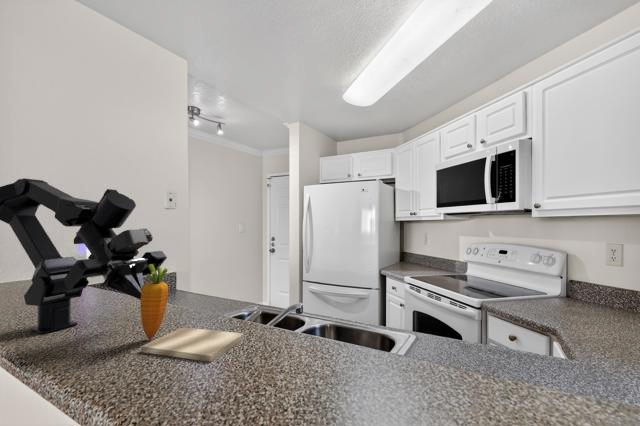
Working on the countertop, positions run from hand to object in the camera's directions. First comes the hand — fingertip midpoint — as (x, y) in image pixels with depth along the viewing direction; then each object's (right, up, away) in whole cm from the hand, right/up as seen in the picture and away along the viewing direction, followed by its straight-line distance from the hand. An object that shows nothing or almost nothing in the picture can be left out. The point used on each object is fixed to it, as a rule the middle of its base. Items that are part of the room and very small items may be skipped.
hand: (143, 297), depth 60 cm
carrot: (+2, -8, -1) cm, 9 cm away
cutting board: (+12, -8, -4) cm, 15 cm away
